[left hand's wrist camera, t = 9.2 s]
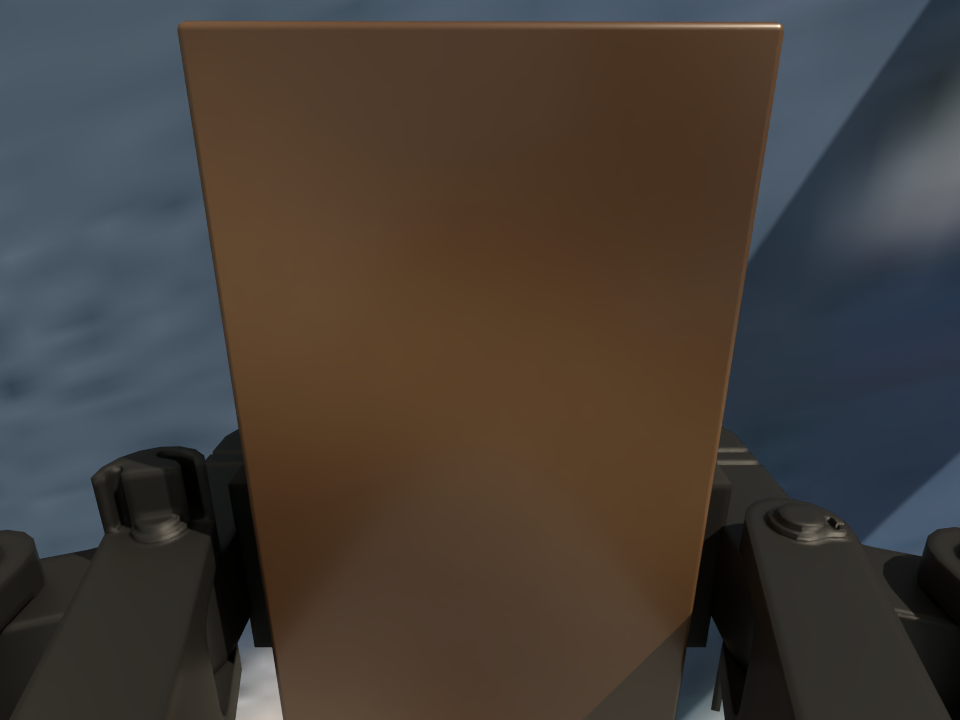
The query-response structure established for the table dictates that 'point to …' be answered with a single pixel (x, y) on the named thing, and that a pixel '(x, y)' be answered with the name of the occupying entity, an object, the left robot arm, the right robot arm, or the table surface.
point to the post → (480, 345)
